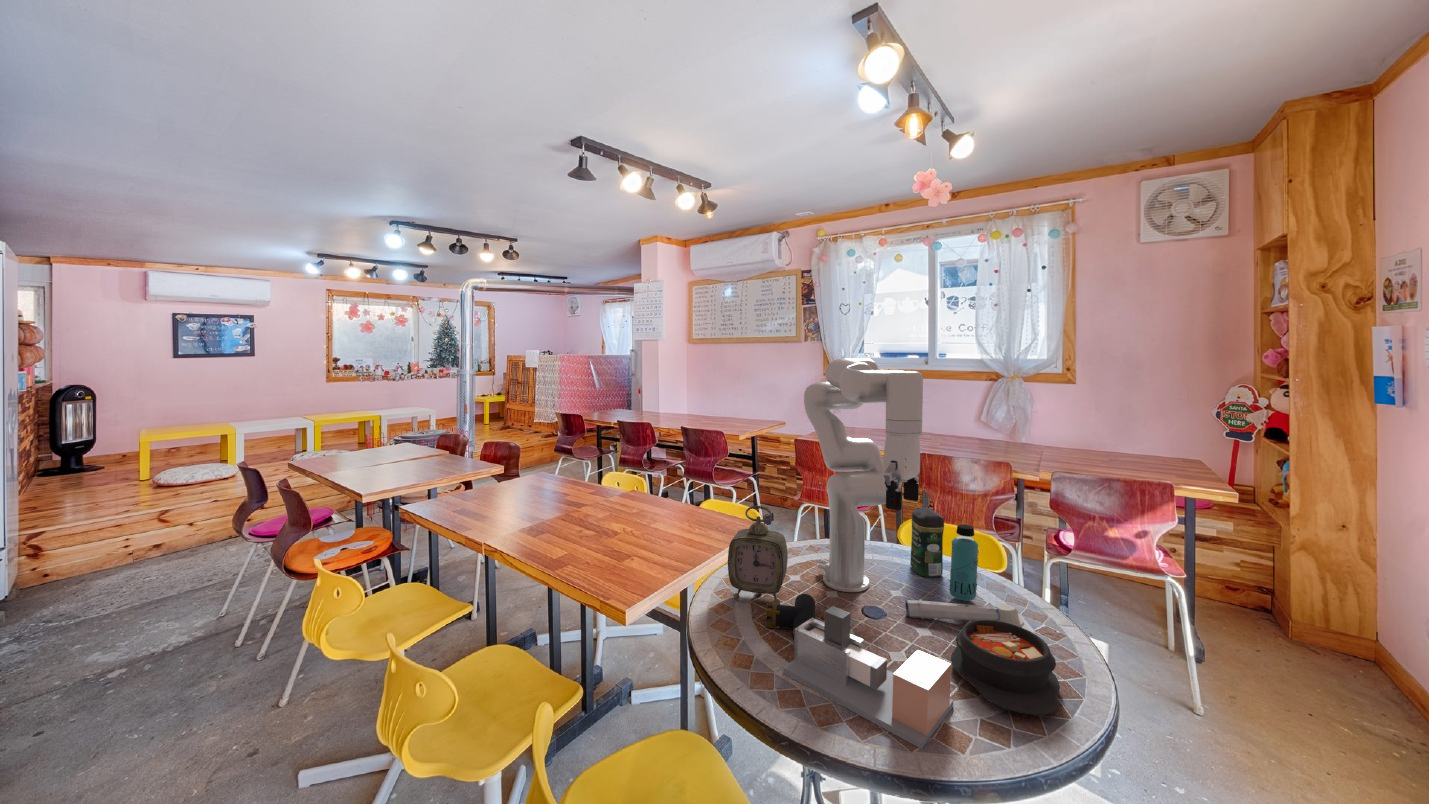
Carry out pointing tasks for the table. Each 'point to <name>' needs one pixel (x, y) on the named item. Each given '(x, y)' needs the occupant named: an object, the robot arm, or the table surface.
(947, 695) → the socket block
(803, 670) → the base board
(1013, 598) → the table surface
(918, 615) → the electric cleaning brush
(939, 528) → the coffee jar
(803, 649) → the outer sleeve
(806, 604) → the pipe connector
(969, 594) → the beverage bottle
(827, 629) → the sliding latch bolt
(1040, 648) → the casserole
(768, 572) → the tabletop clock
